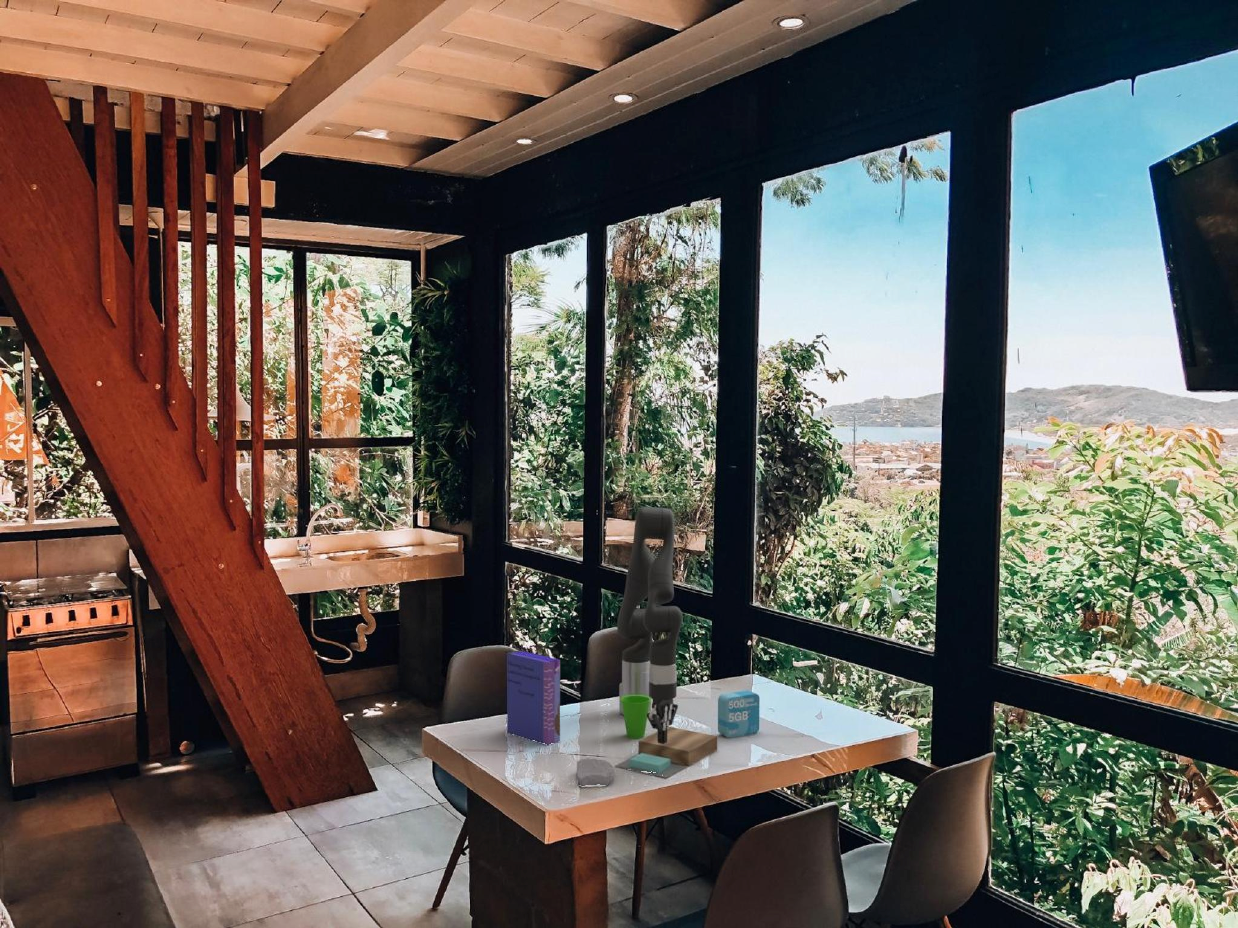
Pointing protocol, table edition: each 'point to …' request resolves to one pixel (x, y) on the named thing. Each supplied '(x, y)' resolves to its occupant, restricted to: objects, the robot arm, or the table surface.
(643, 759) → the teal flat block
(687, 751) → the wooden block
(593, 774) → the stone block
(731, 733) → the data package
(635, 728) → the cup
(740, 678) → the table surface
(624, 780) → the table surface
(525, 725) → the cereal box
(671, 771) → the mat
